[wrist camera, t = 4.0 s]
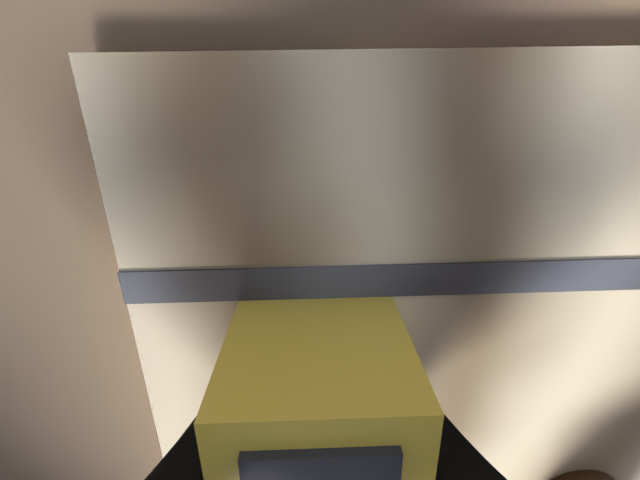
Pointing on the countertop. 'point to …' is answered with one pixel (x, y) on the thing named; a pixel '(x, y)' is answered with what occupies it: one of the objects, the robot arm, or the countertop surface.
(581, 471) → the bottle
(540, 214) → the cream striped towel
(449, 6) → the countertop surface
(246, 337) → the block
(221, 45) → the countertop surface
